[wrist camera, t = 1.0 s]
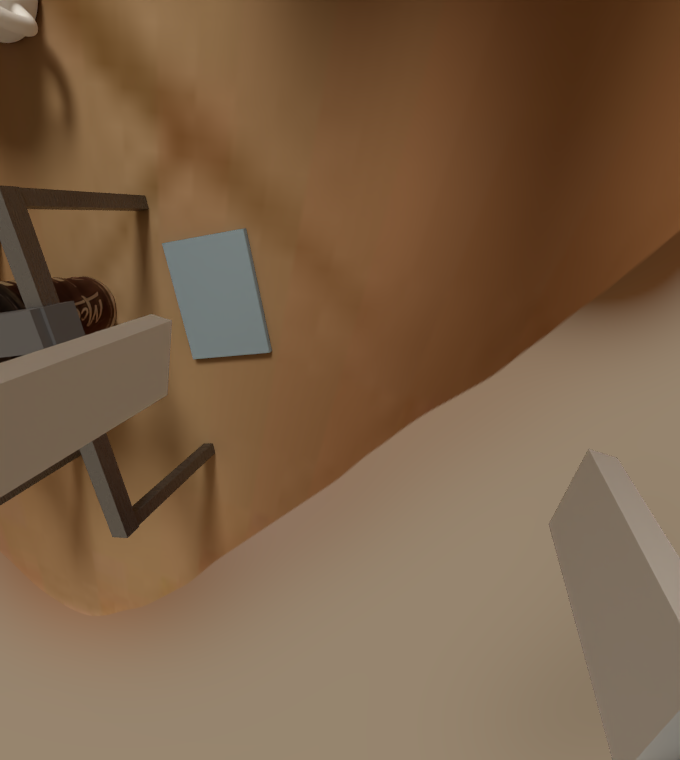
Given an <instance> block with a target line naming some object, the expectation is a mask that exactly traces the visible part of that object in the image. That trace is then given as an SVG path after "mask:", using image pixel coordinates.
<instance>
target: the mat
mask: <svg viewBox="0 0 680 760" xmlns="http://www.w3.org/2000/svg"><path fill="white" fill-rule="evenodd" d="M162 245H163V249H164V252H165V256H166V260H167V264H168V267H169V271H170V275H171V278H172V282H173V286H174V290H175V293H176V297H177V301H178V304H179V308H180V312H181V315H182V319H183V323H184V327H185V330H186V334H187V338H188V341H189V345H190V349H191V353H192V356H193V359H202V358H214V357H225V356H237V355H248V354H259V353H270V352H271V351H272V349H271V345H270V340H269V335H268V330H267V326H266V321H265V316H264V311H263V307H262V302H261V297H260V292H259V288H258V283H257V278H256V273H255V269H254V264H253V259H252V254H251V250H250V245H249V240H248V235H247V231H246V229H239V230H233V231H228V232H222V233H217V234H211V235H206V236H200V237H195V238H189V239H184V240H178V241H173V242H167V243H162Z"/></svg>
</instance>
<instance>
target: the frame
mask: <svg viewBox="0 0 680 760" xmlns="http://www.w3.org/2000/svg"><path fill="white" fill-rule="evenodd" d="M27 209H59V210H120V211H140V210H145V209H149V208H148V205H147V201H146V197H145V196H143V195H127V194H112V193H96V192H81V191H65V190H50V189H34V188H19V187H14V186H0V241H1V244H2V246H3V249H4V252H5V254H6V257H7V260H8V262H9V265H10V268H11V270H12V273H13V275H14V278H15V281H16V283H17V286H18V289H19V291H20V294H21V297H22V299H23V302H24V304H25V307H26V309H30V308H37V307H44V306H49V305H53V304H58V303H60V301H59V298H58V295H57V292H56V290H55V287H54V284H53V281H52V278H51V275H50V273H49V270H48V267H47V264H46V261H45V258H44V256H43V253H42V250H41V247H40V244H39V241H38V239H37V236H36V233H35V230H34V227H33V224H32V222H31V219H30V216H29V213H28V210H27ZM214 453H215V451H214V447H213V444H203V445H202V446H201V447H199V448H198V449H197V450H196V451H195V452H194V453H193V454H191V455H190V456H189V457H188V458H187V459H186V460H185V461H183V462H182V463H181V464H180V465H179V466H178V467H177V468H175V469H174V470H173V471H172V472H171V473H170V474H169V475H167V476H166V477H165V478H164V479H163V480H162V481H161V482H159V483H158V484H157V485H156V486H155V487H154V488H153V489H151V490H150V491H149V492H148V493H147V494H146V495H145V496H143V497H142V498H141V499H140V500H139V501H138V502H137V503H135V504H134V505H133V506H132V505H131V502H130V499H129V496H128V494H127V491H126V488H125V485H124V482H123V479H122V477H121V474H120V471H119V468H118V465H117V462H116V460H115V457H114V454H113V451H112V448H111V445H110V443H109V440H108V437H107V434H106V433H105V434H103V435H101V436H100V437H98V438H96V439H95V440H93V441H91V442H90V443H88V444H87V445H85V446H83V447H82V448H80V449H78V450H77V451H75V452H74V453H72V454H70V455H69V456H67V457H65V458H64V459H62V460H61V461H59V462H57V463H56V464H54V465H52V466H51V467H49V468H48V469H46V470H44V471H43V472H41V473H39V474H38V475H36V476H35V477H33V478H31V479H30V480H28V481H26V482H25V483H23V484H21V485H20V486H18V487H17V488H15V489H13V490H12V491H10V492H8V493H7V494H5V495H4V496H2V497H0V505H2V504H3V503H5V502H7V501H8V500H10V499H11V498H13V497H15V496H16V495H18V494H19V493H21V492H23V491H24V490H26V489H27V488H29V487H31V486H32V485H34V484H35V483H37V482H39V481H40V480H42V479H43V478H45V477H47V476H48V475H50V474H51V473H53V472H55V471H56V470H58V469H59V468H61V467H63V466H64V465H66V464H67V463H69V462H71V461H72V460H74V459H75V458H77V457H79V456H80V455H82V458H83V460H84V463H85V466H86V468H87V471H88V473H89V476H90V479H91V481H92V484H93V487H94V489H95V492H96V495H97V497H98V500H99V503H100V505H101V508H102V510H103V513H104V516H105V518H106V521H107V524H108V526H109V529H110V532H111V534H112V537H120V538H128V537H129V536H130V535H131V534H132V533H133V532H134V531H135V530H136V529H137V528H138V527H139V525H140V524H141V523H142V522H143V521H144V520H145V519H146V518H147V517H148V516H149V515H150V514H151V513H152V512H153V511H154V510H155V509H156V508H157V507H159V506H160V505H161V504H162V503H163V502H164V501H165V500H166V499H167V498H168V497H169V496H170V495H171V494H172V493H173V492H174V491H175V490H176V489H177V488H179V487H180V486H181V485H182V484H183V483H184V482H185V481H186V480H187V479H188V478H189V477H190V476H191V475H192V474H193V473H194V472H195V471H196V470H197V469H198V468H200V467H201V466H202V465H203V464H204V463H205V462H206V461H207V460H208V459H209V458H210V457H211V456H212V455H213V454H214Z"/></svg>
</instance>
